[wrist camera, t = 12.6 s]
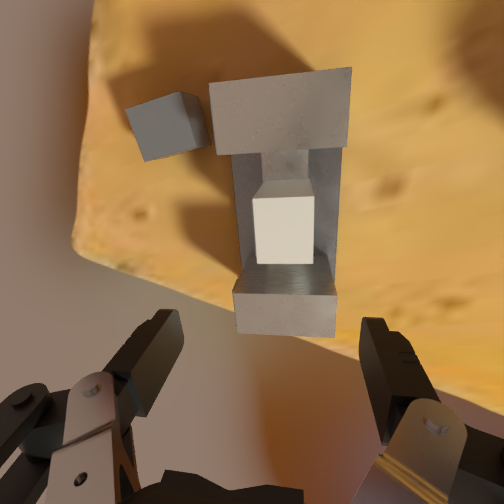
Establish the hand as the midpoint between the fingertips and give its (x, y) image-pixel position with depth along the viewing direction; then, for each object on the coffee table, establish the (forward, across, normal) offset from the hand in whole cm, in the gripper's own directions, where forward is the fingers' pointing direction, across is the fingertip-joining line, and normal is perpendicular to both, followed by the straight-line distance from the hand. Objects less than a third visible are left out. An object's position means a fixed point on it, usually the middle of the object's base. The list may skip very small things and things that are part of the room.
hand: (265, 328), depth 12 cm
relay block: (+23, +12, -9) cm, 27 cm away
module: (+22, 0, 0) cm, 22 cm away
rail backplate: (+23, 0, 0) cm, 23 cm away
